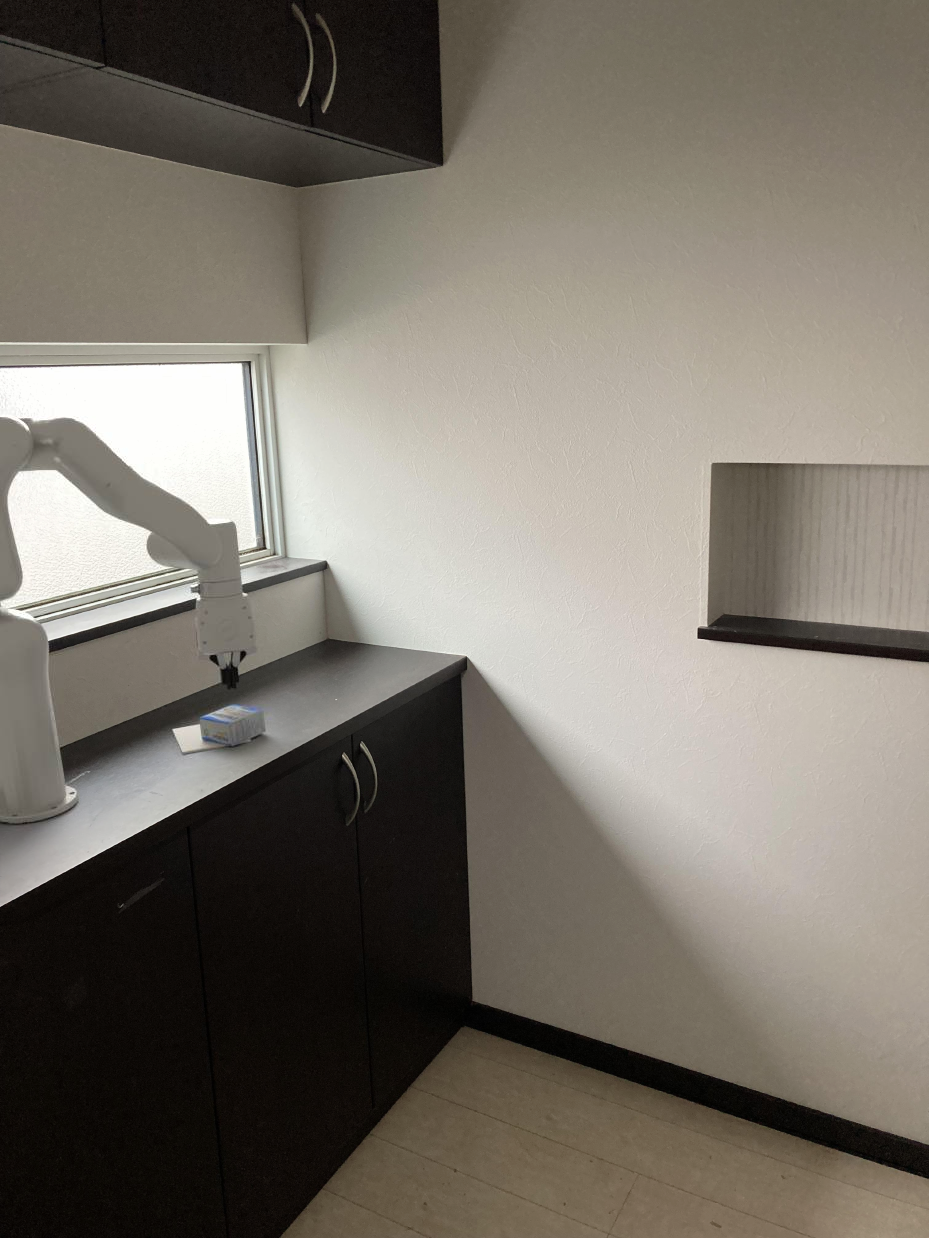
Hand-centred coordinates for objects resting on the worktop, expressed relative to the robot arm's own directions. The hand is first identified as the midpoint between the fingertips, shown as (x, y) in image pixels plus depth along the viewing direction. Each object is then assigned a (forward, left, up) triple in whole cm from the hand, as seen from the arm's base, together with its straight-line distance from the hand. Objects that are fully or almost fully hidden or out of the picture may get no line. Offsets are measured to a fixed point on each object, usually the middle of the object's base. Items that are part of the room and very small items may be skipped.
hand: (230, 687), depth 187 cm
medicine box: (+3, -1, -6) cm, 7 cm away
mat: (-5, 0, -9) cm, 10 cm away
